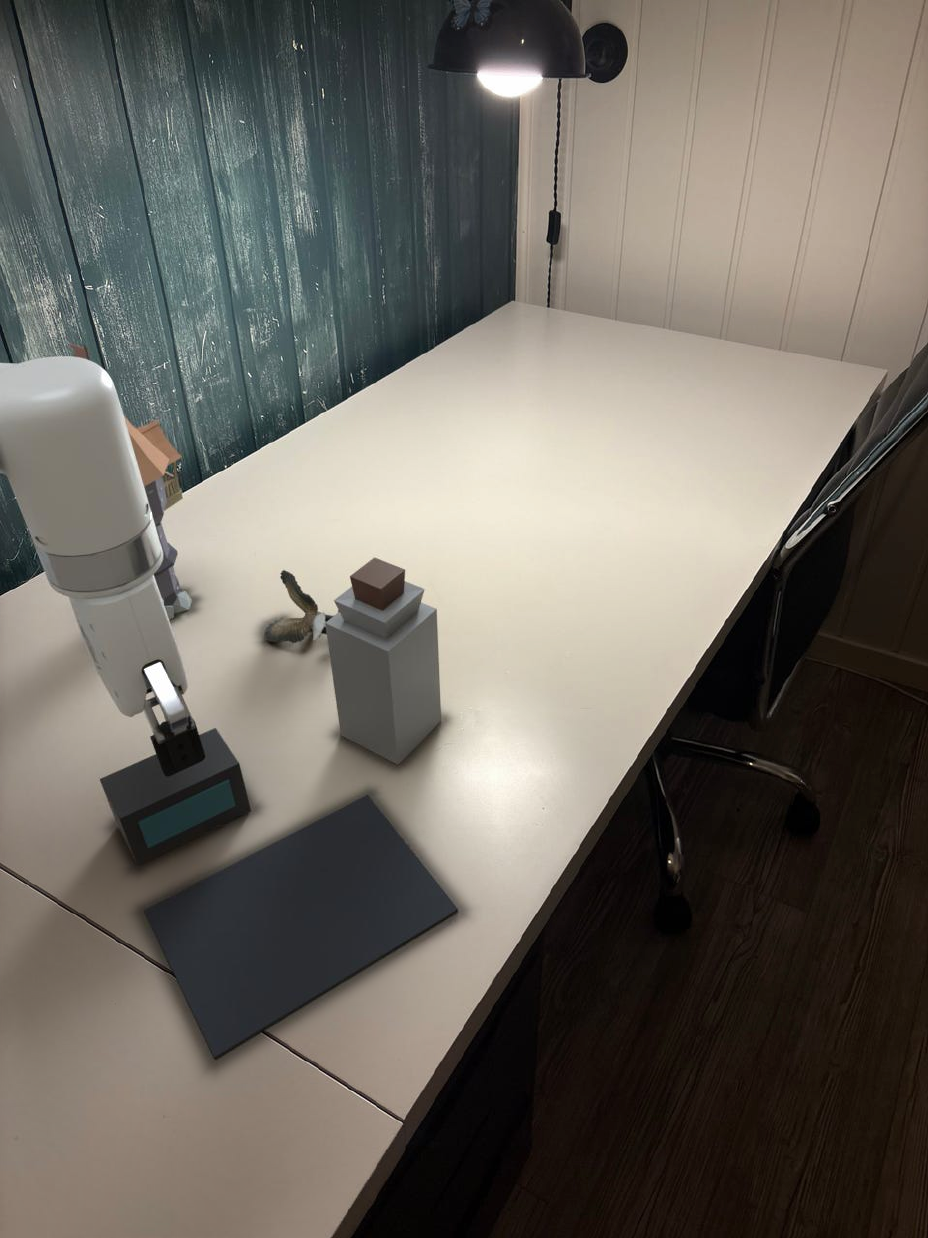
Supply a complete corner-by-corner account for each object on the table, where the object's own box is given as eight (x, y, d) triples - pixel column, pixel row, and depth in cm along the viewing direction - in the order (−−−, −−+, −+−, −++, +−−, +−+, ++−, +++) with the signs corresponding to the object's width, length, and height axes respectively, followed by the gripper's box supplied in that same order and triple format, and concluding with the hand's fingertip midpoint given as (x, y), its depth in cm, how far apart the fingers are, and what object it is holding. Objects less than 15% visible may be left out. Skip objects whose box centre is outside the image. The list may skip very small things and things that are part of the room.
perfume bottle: (441, 720, 87) (434, 565, 76) (398, 765, 83) (384, 607, 72) (385, 693, 90) (371, 541, 79) (340, 735, 86) (319, 579, 75)
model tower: (225, 589, 104) (168, 330, 85) (151, 642, 97) (72, 373, 78) (165, 564, 108) (98, 312, 89) (90, 613, 101) (1, 350, 82)
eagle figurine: (362, 605, 99) (287, 579, 100) (353, 584, 93) (272, 556, 94) (336, 669, 97) (259, 642, 99) (324, 653, 91) (241, 623, 92)
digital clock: (138, 867, 74) (119, 820, 71) (117, 826, 78) (99, 778, 74) (251, 811, 79) (240, 764, 75) (227, 774, 82) (215, 727, 78)
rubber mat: (215, 1059, 62) (214, 1057, 62) (144, 912, 71) (143, 910, 71) (458, 911, 71) (458, 909, 71) (367, 796, 80) (367, 794, 80)
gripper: (10, 510, 65) (81, 687, 76) (82, 636, 54) (153, 822, 64) (114, 477, 68) (168, 651, 79) (203, 589, 57) (252, 775, 68)
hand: (161, 728), depth 72 cm, fingers open, 9 cm apart
